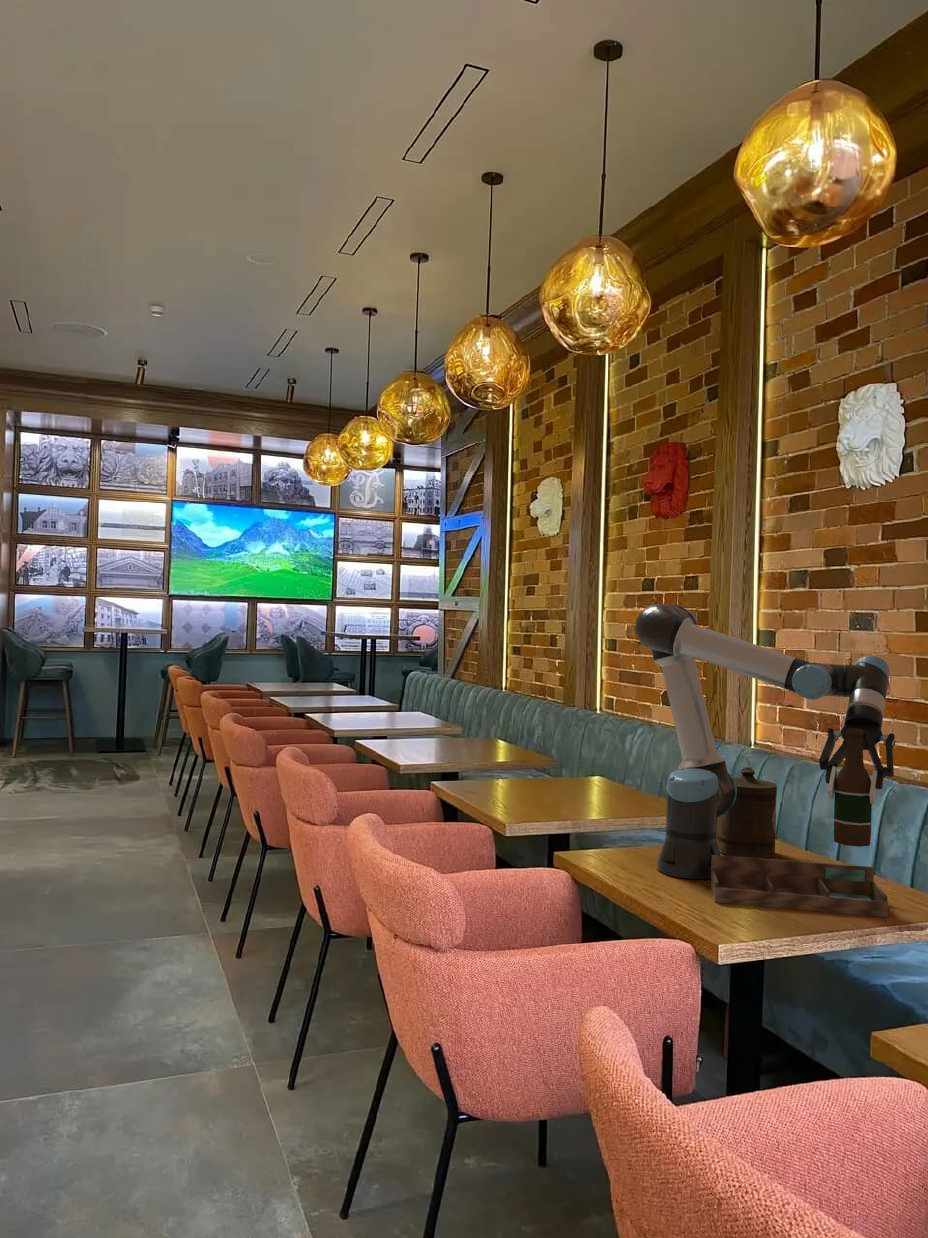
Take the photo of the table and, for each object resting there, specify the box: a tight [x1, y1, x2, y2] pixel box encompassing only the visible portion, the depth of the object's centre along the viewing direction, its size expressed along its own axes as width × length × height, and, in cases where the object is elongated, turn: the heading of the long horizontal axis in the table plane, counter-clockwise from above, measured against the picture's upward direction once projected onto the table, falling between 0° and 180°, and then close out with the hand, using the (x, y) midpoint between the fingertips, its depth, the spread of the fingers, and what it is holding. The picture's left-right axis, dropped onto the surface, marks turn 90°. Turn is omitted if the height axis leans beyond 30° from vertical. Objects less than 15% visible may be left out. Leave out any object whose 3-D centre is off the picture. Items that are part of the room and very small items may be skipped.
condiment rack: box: [710, 854, 889, 918], centre depth 199 cm, size 34×13×7 cm, turn 79°
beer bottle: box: [833, 728, 873, 848], centre depth 197 cm, size 8×8×24 cm
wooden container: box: [716, 766, 778, 859], centre depth 243 cm, size 15×15×22 cm
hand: (850, 797), depth 194 cm, fingers closed on beer bottle, 7 cm apart
